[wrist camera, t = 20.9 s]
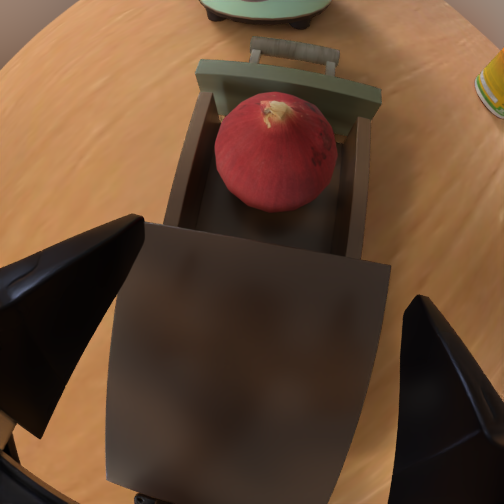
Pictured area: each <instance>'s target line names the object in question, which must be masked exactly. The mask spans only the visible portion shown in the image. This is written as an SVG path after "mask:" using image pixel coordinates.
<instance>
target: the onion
mask: <svg viewBox="0 0 504 504" xmlns="http://www.w3.org/2000/svg"><path fill="white" fill-rule="evenodd" d="M215 157H216V166H217V171H218V172H219V174H220V176H221V178H222V179H223V181H224V183H225V185H226V187H227V188H228V190H229V191H230V192H231V193H232V194H234V195H235V196H236V197H237V198H239V199H240V200H241V201H242V202H244V203H245V204H246V205H247V206H250V207H253V208H256V209H259V210H262V211H265V212H268V213H274V212H286V211H293V210H296V209H298V208H299V207H301V206H304V205H306V204H308V203H310V202H311V201H313V200H314V199H316V198H317V197H318V196H319V194H320V193H321V192H322V191H323V190H324V189H325V188H326V187H327V186H328V185H329V183H330V181H331V178H332V174H333V171H334V167H335V164H336V160H337V157H338V153H337V148H336V142H335V137H334V132H333V129H332V126H331V125H330V124H329V122H328V121H327V120H326V118H325V117H324V115H323V114H322V113H321V111H320V110H319V109H318V108H317V107H316V106H315V105H314V104H312V103H309V102H307V101H305V100H303V99H300V98H298V97H296V96H294V95H290V94H285V93H281V92H276V91H275V92H268V93H261V94H257V95H255V96H253V97H251V98H249V99H247V100H245V101H243V102H241V103H240V104H239V105H238V106H237V107H236V108H234V109H233V110H232V111H231V112H230V113H229V114H228V115H227V116H226V117H225V118H224V119H223V121H222V123H221V126H220V129H219V132H218V135H217V138H216V141H215Z"/></svg>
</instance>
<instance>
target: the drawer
mask: <svg viewBox="0 0 504 504" xmlns="http://www.w3.org/2000/svg"><path fill="white" fill-rule="evenodd" d="M250 54H251V56H250V60H249V63H247V62H237V61H224V60H205V59H200V61H199V64H198V67H197V69H196V72H195V75H196V78H197V82H198V85H199V88H200V93H199V96H198V99H197V102H196V105H195V108H194V111H193V114H192V118H191V121H190V124H189V127H188V131H187V134H186V137H185V141H184V144H183V148H182V151H181V155H180V158H179V162H178V166H177V169H176V173H175V177H174V181H173V185H172V189H171V193H170V197H169V201H168V205H167V209H166V214H165V218H164V222H163V225H168V226H174V227H180V228H186V229H192V230H198V231H204V232H209V233H215V234H221V235H227V236H233V237H238V238H244V239H250V240H255V241H261V242H267V243H272V244H278V245H284V246H289V247H295V248H300V249H306V250H311V251H317V252H322V253H328V254H333V255H339V256H344V257H350V258H355V259H360V260H361V254H362V246H363V238H364V229H365V220H366V209H367V198H368V184H369V168H370V146H371V120H372V118H373V117H374V115H375V114H376V112H377V111H378V109H379V107H380V106H381V104H382V97H381V89H380V88H376V87H373V86H369V85H366V84H362V83H358V82H354V81H350V80H346V79H342V78H338V77H335V68H337V66H338V63H339V57H340V51H339V50H337V49H332V48H328V47H323V46H318V45H313V44H307V43H302V42H296V41H289V40H282V39H275V38H267V37H257V36H252V38H251V42H250ZM261 55H264V56H272V57H279V58H286V59H292V60H298V61H304V62H309V63H315V64H320V65H324V66H326V67H325V74H320V73H315V72H310V71H304V70H299V69H293V68H286V67H280V66H273V65H265V64H259V62H260V58H261ZM275 91H276V92H281V93H285V94H290V95H294V96H296V97H298V98H300V99H303V100H305V101H307V102H309V103H312V104H314V105H315V106H316V107H317V108H318V109H319V110H320V111H321V113H322V114H323V115H324V117H325V118H326V120H327V121H328V122H329V124H330V125H331V126H332V129H333V132H334V133H335V134H339V135H343V136H347V137H346V139H345V141H344V142H343V144H342V143H337V142H336V148H337V153H338V157H337V160H336V164H335V167H334V171H333V174H332V178H331V181H330V183H329V185H328V186H327V187H326V188H325V189H324V190H323V191H322V192H321V193H320V194H319V196H318V197H317V198H316V199H314V200H313V201H311V202H310V203H308V204H306V205H304V206H301V207H299V208H298V209H296V210H293V211H286V212H274V213H268V212H265V211H262V210H259V209H256V208H253V207H250V206H247V205H246V204H245V203H244V202H242V201H241V200H240V199H239V198H237V197H236V196H235V195H234V194H232V193H231V192H230V191H229V190H228V188H227V187H226V185H225V183H224V181H223V179H222V178H221V176H220V174H219V172H218V171H217V166H216V157H215V141H216V138H217V135H218V132H219V129H220V126H221V123H220V120H219V115H226V116H227V115H228V114H229V113H230V112H231V111H232V110H233V109H234V108H236V107H237V106H238V105H239V104H240V103H241V102H243V101H245V100H247V99H249V98H251V97H253V96H255V95H257V94H261V93H268V92H275Z"/></svg>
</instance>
